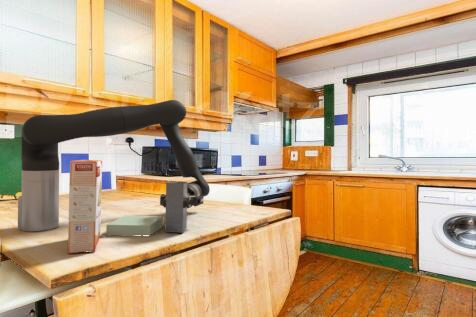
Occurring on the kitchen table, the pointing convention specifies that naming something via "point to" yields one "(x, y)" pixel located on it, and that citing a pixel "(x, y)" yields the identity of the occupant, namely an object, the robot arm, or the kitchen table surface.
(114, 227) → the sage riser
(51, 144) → the robot arm
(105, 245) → the kitchen table surface
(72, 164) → the cracker box
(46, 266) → the kitchen table surface
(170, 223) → the block
